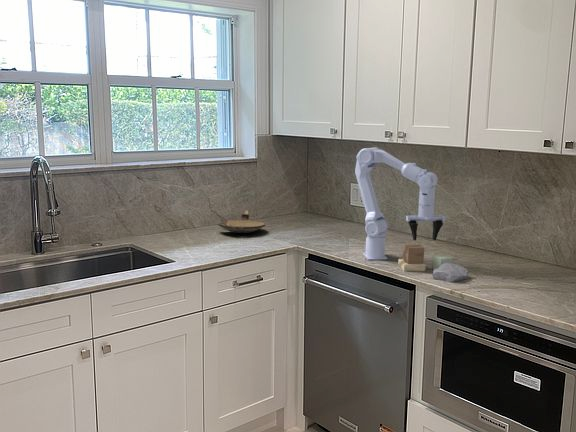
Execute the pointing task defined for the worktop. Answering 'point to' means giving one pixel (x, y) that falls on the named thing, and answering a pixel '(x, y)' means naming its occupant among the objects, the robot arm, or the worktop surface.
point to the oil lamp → (242, 225)
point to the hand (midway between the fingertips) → (424, 239)
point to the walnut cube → (413, 254)
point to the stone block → (450, 272)
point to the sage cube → (440, 260)
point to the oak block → (411, 266)
